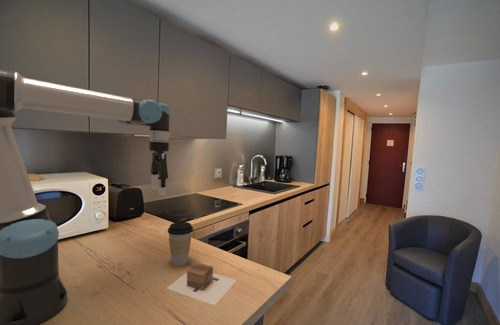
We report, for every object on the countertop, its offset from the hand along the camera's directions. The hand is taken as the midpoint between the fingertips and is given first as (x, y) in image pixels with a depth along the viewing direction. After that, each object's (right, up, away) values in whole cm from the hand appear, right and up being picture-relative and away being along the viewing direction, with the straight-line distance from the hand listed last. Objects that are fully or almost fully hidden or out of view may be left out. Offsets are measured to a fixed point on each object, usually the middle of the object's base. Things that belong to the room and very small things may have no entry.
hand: (158, 192), depth 97 cm
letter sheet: (+23, -28, -21) cm, 42 cm away
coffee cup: (+11, -27, -7) cm, 30 cm away
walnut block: (+22, -28, -21) cm, 41 cm away
